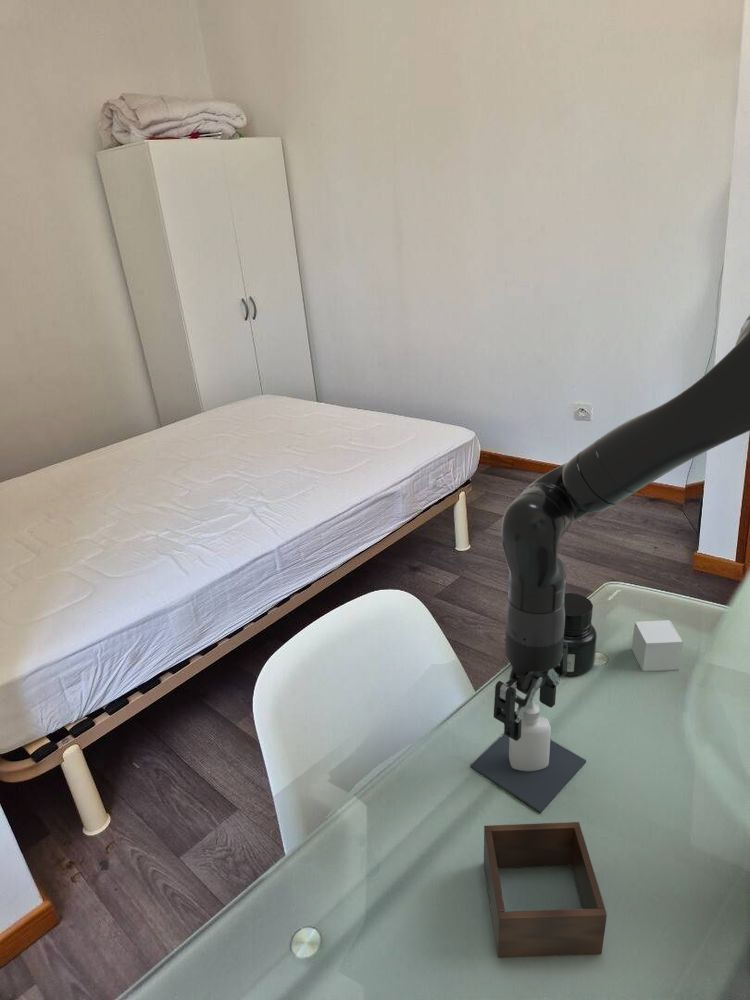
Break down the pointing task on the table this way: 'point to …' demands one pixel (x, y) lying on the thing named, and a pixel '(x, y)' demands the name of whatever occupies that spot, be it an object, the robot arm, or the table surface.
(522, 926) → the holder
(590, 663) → the ink bottle
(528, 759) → the eye dropper bottle
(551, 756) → the mat
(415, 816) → the table surface
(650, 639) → the grey cube
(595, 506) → the robot arm
